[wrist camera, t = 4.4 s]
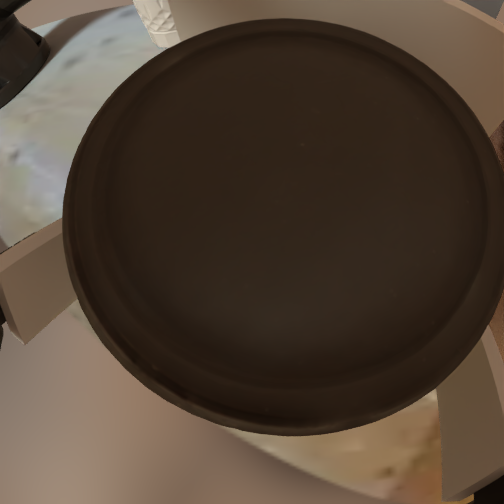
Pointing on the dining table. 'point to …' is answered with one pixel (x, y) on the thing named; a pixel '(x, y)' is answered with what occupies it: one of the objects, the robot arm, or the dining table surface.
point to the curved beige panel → (389, 36)
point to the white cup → (158, 21)
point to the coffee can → (286, 227)
